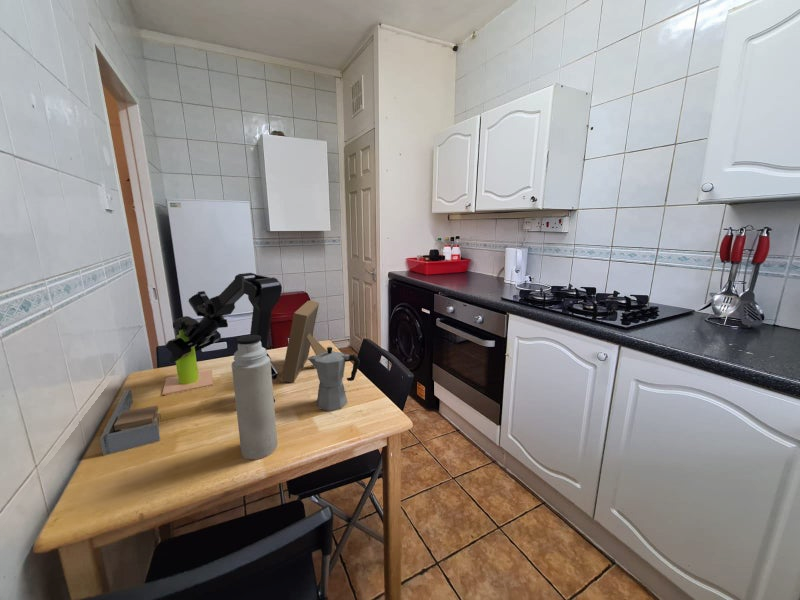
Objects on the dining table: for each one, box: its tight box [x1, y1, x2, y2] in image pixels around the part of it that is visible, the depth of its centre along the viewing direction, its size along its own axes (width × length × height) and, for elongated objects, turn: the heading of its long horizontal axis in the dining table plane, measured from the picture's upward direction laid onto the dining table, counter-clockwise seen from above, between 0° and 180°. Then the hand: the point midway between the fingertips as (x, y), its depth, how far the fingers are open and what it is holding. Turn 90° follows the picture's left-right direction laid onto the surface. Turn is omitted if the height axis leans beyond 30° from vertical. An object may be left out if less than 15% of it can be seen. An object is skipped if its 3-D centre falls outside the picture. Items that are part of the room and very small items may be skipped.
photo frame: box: [280, 300, 328, 384], centre depth 120 cm, size 15×22×25 cm
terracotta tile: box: [161, 369, 214, 397], centre depth 112 cm, size 14×14×1 cm
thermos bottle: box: [231, 334, 278, 460], centre depth 74 cm, size 8×8×28 cm
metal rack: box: [99, 388, 161, 456], centre depth 88 cm, size 28×11×4 cm, turn 31°
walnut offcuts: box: [114, 405, 162, 431], centre depth 85 cm, size 8×8×4 cm
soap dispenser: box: [175, 330, 199, 384], centre depth 110 cm, size 6×7×20 cm
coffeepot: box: [307, 346, 361, 412], centre depth 96 cm, size 15×9×18 cm, turn 90°
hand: (182, 356), depth 110 cm, fingers open, 9 cm apart
